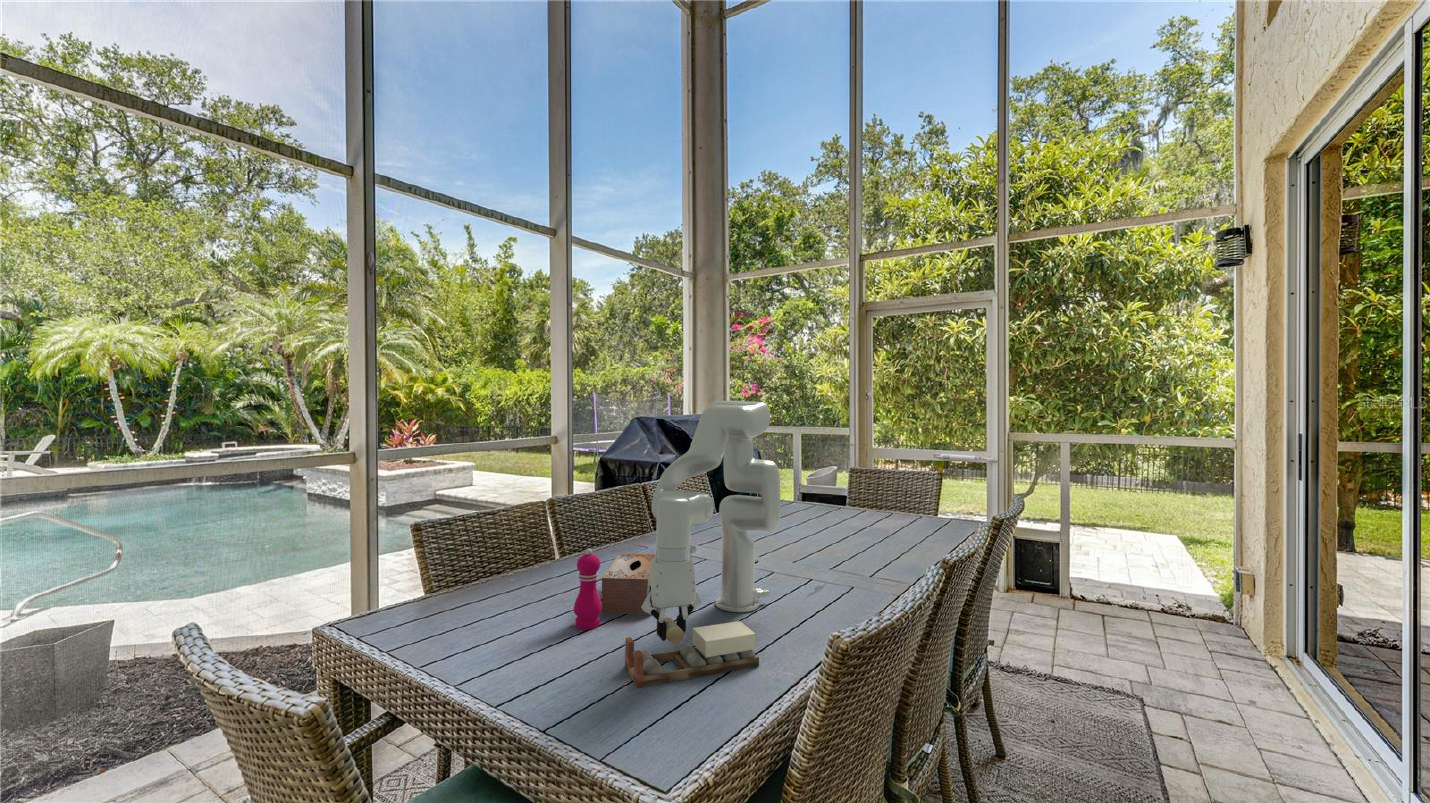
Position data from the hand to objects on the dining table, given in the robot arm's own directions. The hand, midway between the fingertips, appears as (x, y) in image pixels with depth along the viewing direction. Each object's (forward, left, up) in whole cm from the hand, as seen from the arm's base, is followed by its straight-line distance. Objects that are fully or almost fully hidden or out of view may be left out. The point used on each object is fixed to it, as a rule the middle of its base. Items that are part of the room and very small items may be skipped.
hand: (671, 636), depth 131 cm
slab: (-13, 0, -4) cm, 13 cm away
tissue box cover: (-5, -48, -8) cm, 49 cm away
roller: (0, 0, +1) cm, 1 cm away
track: (-5, 0, -8) cm, 9 cm away
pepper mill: (+12, -32, -8) cm, 35 cm away
